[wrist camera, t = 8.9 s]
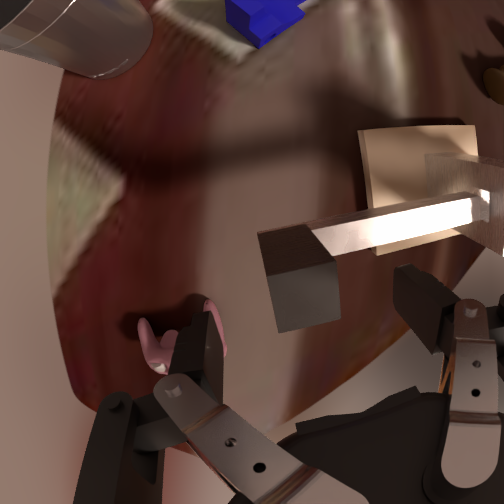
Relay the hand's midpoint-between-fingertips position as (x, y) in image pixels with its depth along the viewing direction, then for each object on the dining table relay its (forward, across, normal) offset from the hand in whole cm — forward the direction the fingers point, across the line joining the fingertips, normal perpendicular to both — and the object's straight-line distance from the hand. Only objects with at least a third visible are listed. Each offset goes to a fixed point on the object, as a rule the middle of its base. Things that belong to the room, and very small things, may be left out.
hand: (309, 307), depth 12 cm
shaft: (+9, -8, 0) cm, 12 cm away
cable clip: (+18, -7, -21) cm, 29 cm away
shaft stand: (+18, -19, 0) cm, 26 cm away
